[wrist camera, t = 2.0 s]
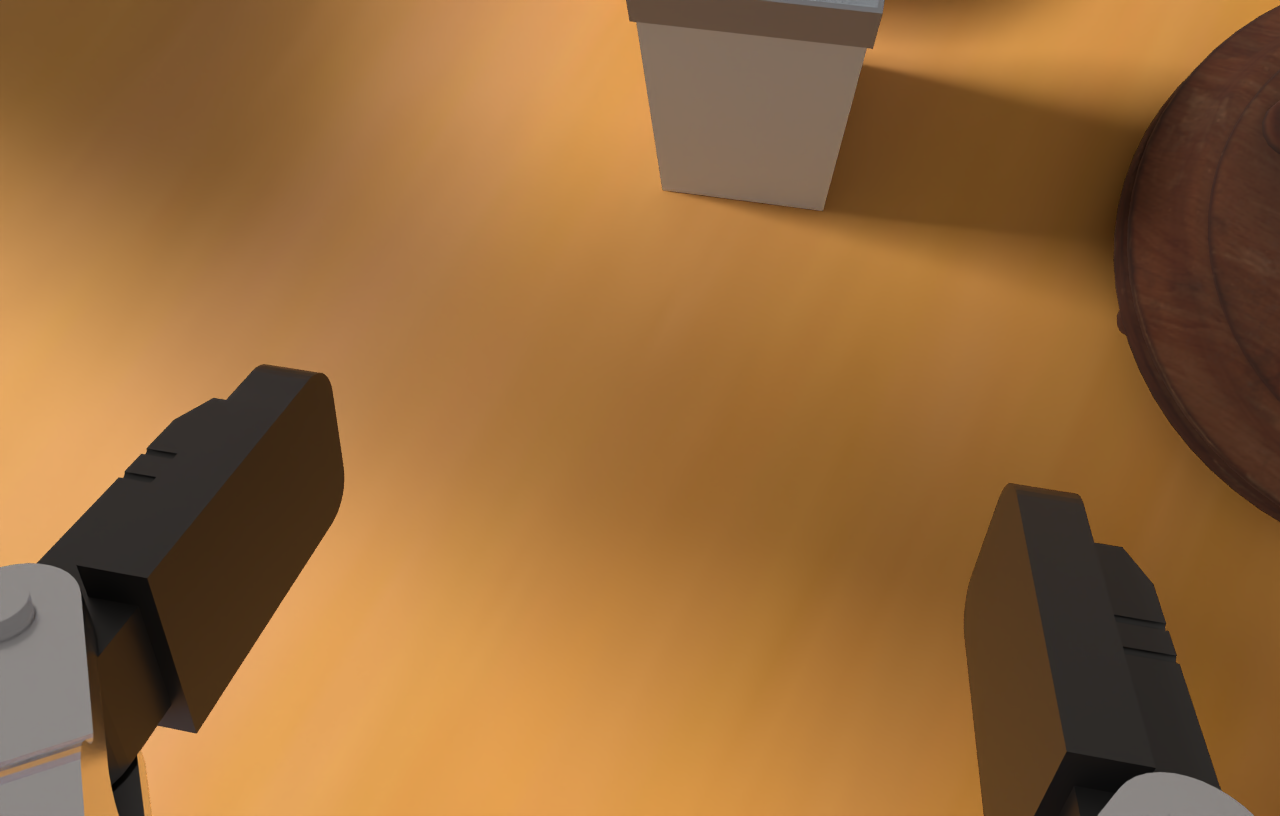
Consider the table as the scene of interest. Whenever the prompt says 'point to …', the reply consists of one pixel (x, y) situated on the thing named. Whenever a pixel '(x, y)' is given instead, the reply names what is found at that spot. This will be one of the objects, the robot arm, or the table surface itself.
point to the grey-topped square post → (752, 92)
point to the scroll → (1211, 261)
